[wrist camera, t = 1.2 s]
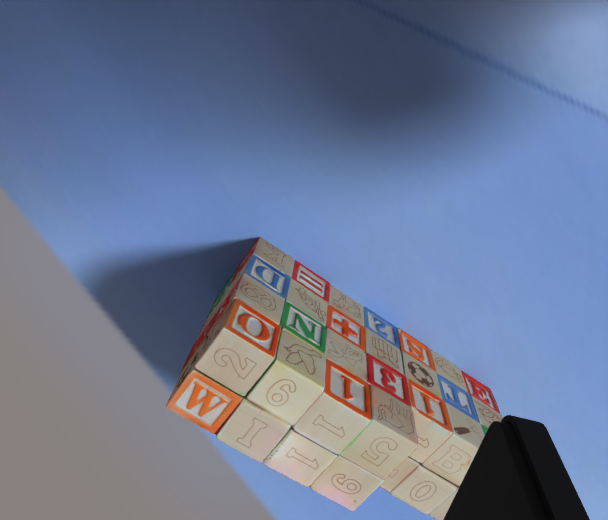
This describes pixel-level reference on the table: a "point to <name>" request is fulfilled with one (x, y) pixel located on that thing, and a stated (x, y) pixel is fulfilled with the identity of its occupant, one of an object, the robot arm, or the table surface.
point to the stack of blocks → (330, 390)
